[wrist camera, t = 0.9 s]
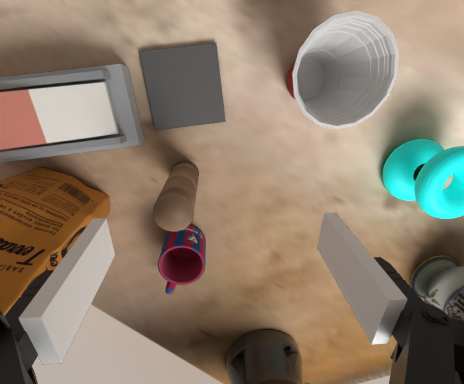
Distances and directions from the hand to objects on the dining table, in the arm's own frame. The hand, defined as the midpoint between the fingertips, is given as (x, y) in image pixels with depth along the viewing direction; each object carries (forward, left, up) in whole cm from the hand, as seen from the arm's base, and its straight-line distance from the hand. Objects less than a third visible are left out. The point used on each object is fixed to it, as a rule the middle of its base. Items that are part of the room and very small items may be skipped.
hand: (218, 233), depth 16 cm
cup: (-15, +7, -25) cm, 30 cm away
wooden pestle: (-2, +4, -25) cm, 25 cm away
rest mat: (+10, +2, -25) cm, 27 cm away
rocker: (+8, +19, -20) cm, 29 cm away
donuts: (-6, -32, -25) cm, 41 cm away
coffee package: (-5, +23, -25) cm, 34 cm away
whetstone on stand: (+8, +19, -25) cm, 33 cm away
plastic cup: (+9, -15, -25) cm, 30 cm away
